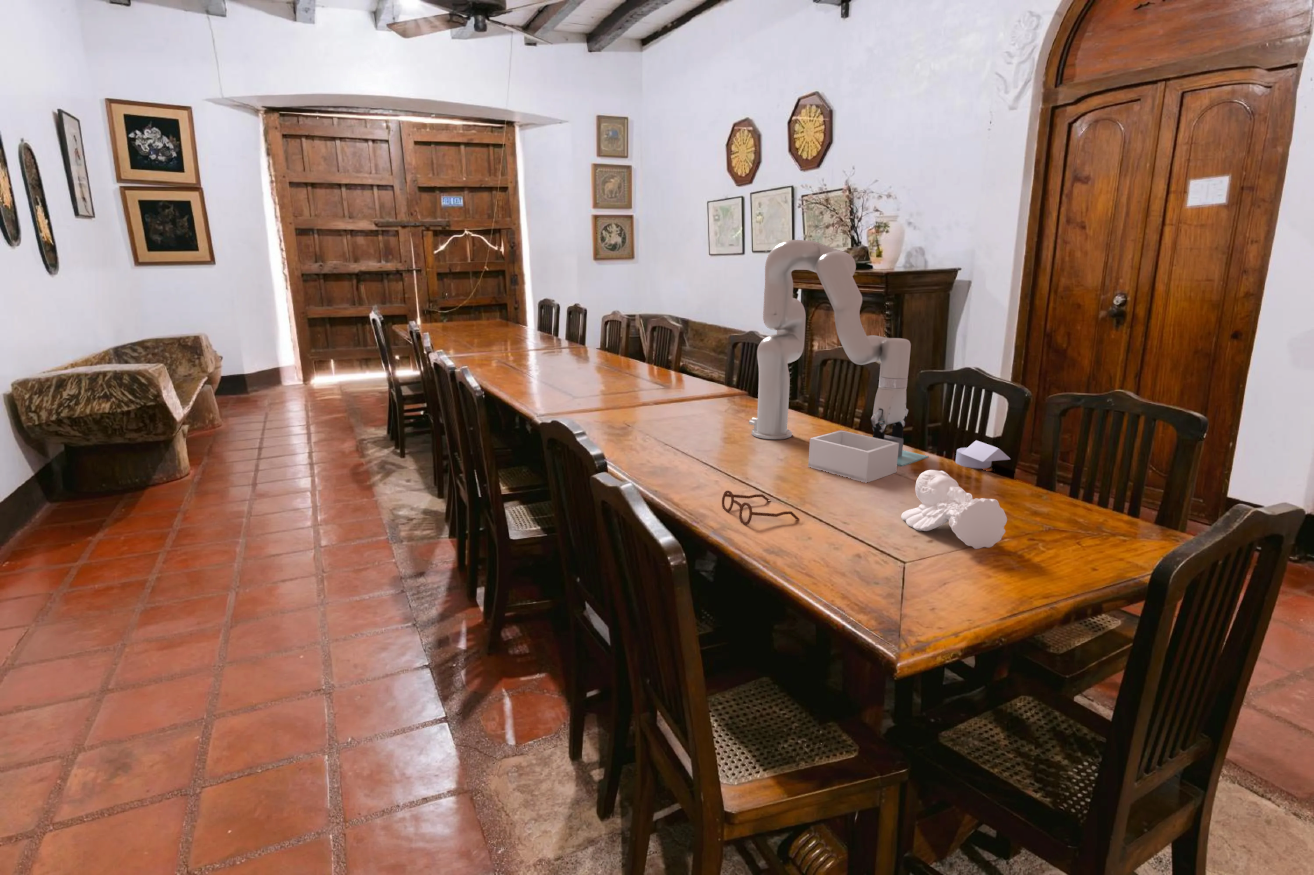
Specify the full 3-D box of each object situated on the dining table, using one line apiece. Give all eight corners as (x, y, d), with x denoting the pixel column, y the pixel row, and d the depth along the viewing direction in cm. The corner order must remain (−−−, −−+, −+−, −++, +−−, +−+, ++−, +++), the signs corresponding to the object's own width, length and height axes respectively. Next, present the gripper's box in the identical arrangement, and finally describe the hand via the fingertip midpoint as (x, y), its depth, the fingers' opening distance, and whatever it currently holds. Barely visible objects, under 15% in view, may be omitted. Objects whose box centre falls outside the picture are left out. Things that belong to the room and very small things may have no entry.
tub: (808, 466, 191) (809, 438, 189) (839, 457, 200) (841, 430, 198) (865, 483, 178) (868, 452, 176) (896, 472, 187) (899, 443, 185)
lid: (845, 454, 206) (846, 434, 204) (872, 446, 214) (874, 427, 213) (901, 468, 192) (903, 447, 191) (927, 459, 201) (930, 439, 200)
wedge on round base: (1009, 471, 189) (975, 458, 201) (1012, 447, 187) (978, 435, 199) (981, 474, 186) (948, 460, 198) (984, 449, 185) (951, 437, 197)
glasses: (720, 509, 161) (720, 488, 160) (770, 502, 166) (771, 482, 164) (747, 529, 149) (748, 507, 148) (801, 521, 154) (802, 500, 152)
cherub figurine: (950, 503, 134) (899, 462, 152) (941, 561, 138) (892, 514, 156) (1013, 498, 136) (954, 458, 154) (1002, 554, 140) (946, 509, 159)
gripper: (897, 377, 206) (892, 434, 211) (863, 384, 195) (858, 444, 200) (921, 381, 201) (915, 439, 205) (887, 388, 190) (882, 450, 194)
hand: (887, 442), depth 202 cm, fingers open, 9 cm apart
